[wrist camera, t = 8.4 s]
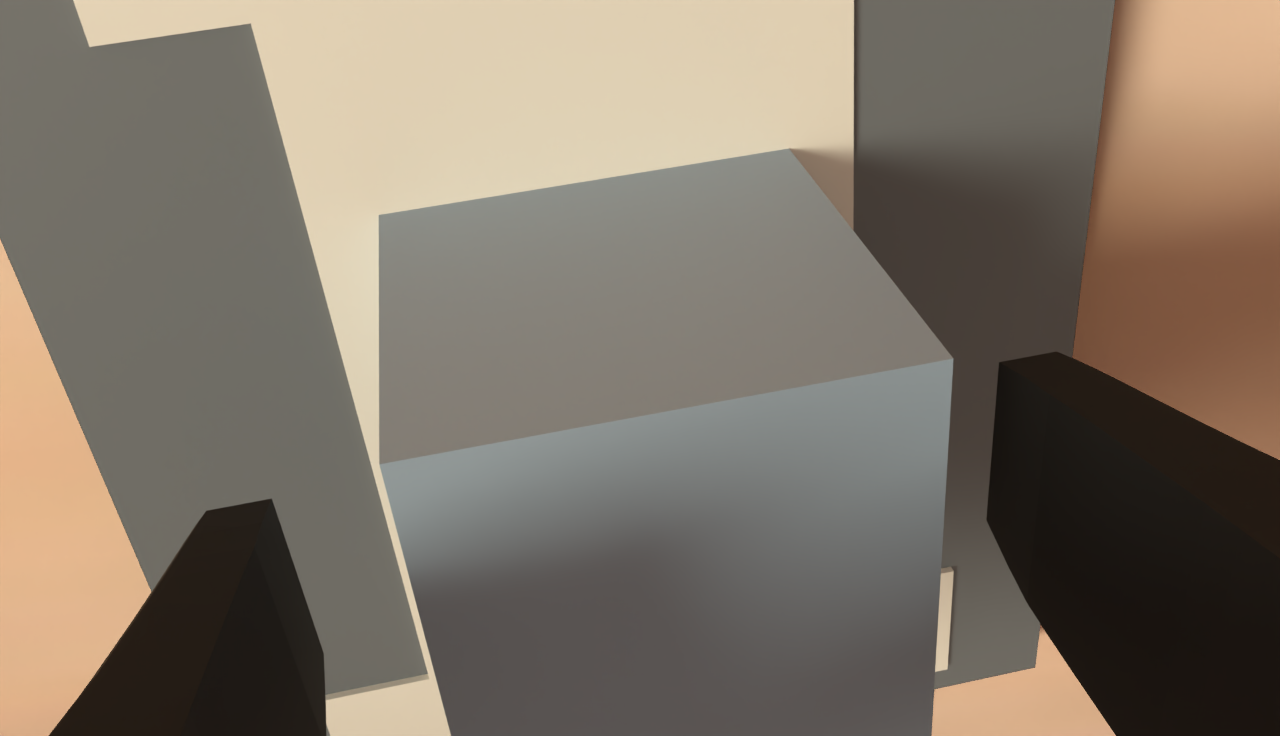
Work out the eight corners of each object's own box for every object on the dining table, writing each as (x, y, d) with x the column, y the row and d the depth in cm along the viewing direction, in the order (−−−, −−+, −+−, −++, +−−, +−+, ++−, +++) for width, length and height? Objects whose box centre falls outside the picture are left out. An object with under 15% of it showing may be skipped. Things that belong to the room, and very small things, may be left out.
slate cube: (453, 538, 15) (478, 840, 11) (378, 214, 13) (378, 464, 9) (797, 471, 16) (931, 741, 12) (789, 148, 13) (953, 359, 9)
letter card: (260, 791, 18) (255, 841, 17) (-163, -237, 11) (-205, -227, 10) (1012, 631, 19) (1038, 672, 19) (1117, -391, 12) (1167, -392, 11)
